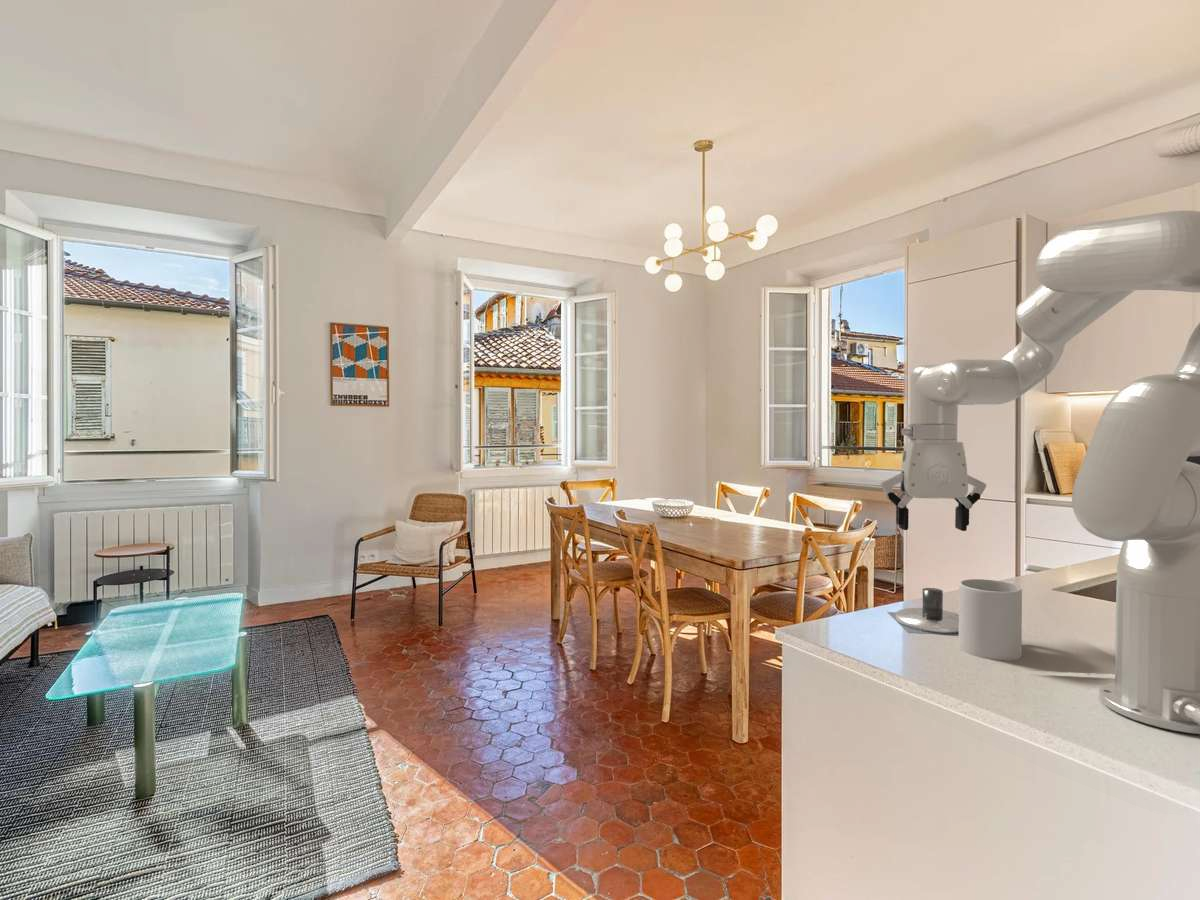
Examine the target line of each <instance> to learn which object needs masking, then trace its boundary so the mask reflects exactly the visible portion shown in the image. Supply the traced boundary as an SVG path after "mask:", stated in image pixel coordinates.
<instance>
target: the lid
mask: <svg viewBox="0 0 1200 900" xmlns="http://www.w3.org/2000/svg"><path fill="white" fill-rule="evenodd" d="M943 599H944V594H943V590H942V589H939V588H935V587H923V588H922V607H907V608H902V609H899V610H897V611H895V612H896V620H895V621H896V623H897V624H898V625H900V624H901V625H903V626H906V627H908V628H911V629H915V630H919V631H924V632H930V633H939V634H938V635H950V634H959V613H955V612H953V611H948V610H943V607H944V605H943V603H944V600H943ZM901 625H900V626H901Z"/></svg>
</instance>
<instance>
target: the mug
mask: <svg viewBox="0 0 1200 900" xmlns="http://www.w3.org/2000/svg"><path fill="white" fill-rule="evenodd" d="M958 614H959V635H958V637H957V638H958V641H957V644H958V648H959V650H961V651H962V652H964V653H966V654H968V655H971V656H974V657H977V658H982V659H986V660H987V659H988V660H993V661H994V660H995V661H1016V660H1020V659H1021V658H1023V657H1022V656H1023V647H1022V646H1023V645H1022V644H1023V643H1022V641H1023V640H1022V639H1023V638H1022V636H1023V635H1022V633H1023V632H1022V630H1023V629H1022V626H1023V625H1022V624H1023V621H1022V619H1023V618H1022V617H1023V616H1022V615H1023V591H1022V588H1021V587H1020V586H1018V585H1016V584H1014V583H1010V582H1006V581H1001V580H993V579H985V578H984V579H983V578H981V579H979V578H975V579H974V578H971V579H968V578H967V579H962V580H961V581H960V582H959V585H958Z"/></svg>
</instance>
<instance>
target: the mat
mask: <svg viewBox="0 0 1200 900" xmlns="http://www.w3.org/2000/svg"><path fill="white" fill-rule="evenodd" d="M896 612H897V611H895V612H894V611H887V614H888V615H889V616H890V617H891V618H892V619H894V621H896ZM899 626H900V627H902V629H904V630H905V631H906V633H908V634H922V635H923V634H927V635H932V634H933V635H940V634H939V633H930V632H924V631H919V630H915V629H911V628H908V627H906V626H903V625H901V624H899ZM949 635H954V636H955V635H956V636H957V635H958V636H959V634H949Z"/></svg>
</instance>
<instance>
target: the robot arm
mask: <svg viewBox="0 0 1200 900" xmlns="http://www.w3.org/2000/svg"><path fill="white" fill-rule="evenodd" d="M1034 268H1035V275H1036V278H1037V280H1038V281H1039V283H1040V285H1039V286H1038V287H1037V288H1036V289H1034V290H1033V291H1032V292H1031V293H1030V294H1029V295H1028V296H1026V297H1025V298H1024V299H1023V300H1022V301H1021V302H1019V304H1018V305H1017V306H1016V309H1015V311H1014V318H1015V321H1016V323H1017V325H1018V327H1019V328H1020V330H1021V332H1022V333H1023V334H1024V337H1023V339H1022V340H1021V341H1020V342H1019V343H1018V344H1017V345H1016V346H1015V347H1013V348H1012V349H1011V350H1010V351H1008V352H1007V353H1006V354H1004V355H1003V356H1002V357H1001V358H999V359H979V358H978V359H976V358H975V359H964V358H963V359H953V360H949V361H945V362H942V363H938V364H926V365H918V366H916V367H914V368H913V369H912V370H911V372H910V377H909V381H910V382H909V383H910V386H909V387H910V388H909V393H910V394H909V424H908V427H904V428H901V431H900V432H901V433H900V434H901V436H906V437H908V440H909V441H906V442H905V444H904V449H903V455H902V459H901V468H900V473H899V474H896V475H894V476H892V477H890V478H888V479H886V480H884V481H882V482H880V487H881V489H882V491H883V492H884V494H885V496H886V499H888V500H889V501H890V502H891V503H893V505H894V506H896V507H895V510H896V511H895V513H896V514H895V517H896V518H895V523H896V525H898V528H899V529H901V530H903V531H907V530H909V518H910V517H909V516H910V515H909V514H910V513H909V512H910V509H909V508H908V507H907V505H908V504H909V503H910V502H911V500H912V499H913V498H915V499H951V500H952V499H953V500H954V501H955V502H956V504H958V505H957V506H956V507H955V508H954V509H955V513H954V515H955V516H954V518H955V520H954V525H955V529H957V530H960V532H961V531H962V532H967V529H968V527H969V526H970V509H972V508H973V505H974V504H976V503H977V502H978V501H979V500H980V499H981V495H982V494H983V493H984V491H985V489H986V488H987V483H985V482H983V481H982V480H979V479H977V478H975V477H973V476H971V475H969V474H968V467H967V466H968V465H967V458H966V452H965V447H964V443H963V442H962V441H958V419H959V418H958V414H959V413H958V411H959V408H958V407H959V406H973V405H990V406H991V405H992V406H995V405H1004V404H1007V403H1009V402H1012V401H1015V400H1016V399H1018V398H1019V397H1021V396H1022V395H1025V394H1026V393H1027V392H1028V391H1030V390H1031V389H1032V388H1034V387H1035V386H1037V385H1038V384H1039V383H1041V382H1042V381H1043V380H1045V379H1046V378H1047V377H1048V376H1049V375H1051V373H1052V372H1053V371H1054V369H1055V368H1056V366H1057V364H1058V363H1059V361H1060V359H1061V358H1062V355H1063V353H1064V349H1065V346H1066V344H1067V343H1069V341H1071V340H1072V339H1073V338H1074V337H1076V336H1077V335H1079V334H1080V332H1082V331H1084V330H1085V329H1086V328H1087V327H1089V326H1090V325H1092V324H1093V323H1094V322H1095V321H1096V320H1098V319H1100V317H1102V316H1103V315H1104V314H1106V313H1107V312H1109V310H1111V309H1112V308H1114V307H1115V306H1117V304H1119V303H1120V302H1121V301H1123V300H1125V299H1126V298H1127V297H1128V296H1129V295H1131V294H1133V293H1134V291H1174V292H1183V293H1184V292H1187V293H1200V211H1199V210H1174V211H1173V210H1170V211H1162V212H1156V213H1150V214H1143V215H1142V214H1141V215H1137V216H1130V217H1123V218H1116V219H1109V220H1102V221H1096V222H1095V221H1093V222H1088V223H1082V224H1081V223H1080V224H1076V225H1074V226H1070V227H1068V228H1065V229H1064V230H1061V231H1060V232H1059V233H1057V234H1055V235H1054V236H1053V237H1051V238H1050V240H1048V241H1047V242H1046V244H1044V246H1043V247H1042V249H1041V250H1040V252H1039V254H1038V255H1037V258H1036V261H1035V267H1034ZM1189 457H1200V322H1198V324H1197V326H1196V327H1195V328H1194V330H1193V331H1192V334H1191V335H1190V337H1189V339H1188V341H1187V344H1186V347H1185V350H1184V352H1183V354H1182V356H1181V358H1180V360H1179V362H1178V364H1177V366H1176V367H1175V370H1174V371H1173V373H1162V374H1159V373H1158V374H1152V375H1148V376H1144V377H1141V378H1138V379H1135V380H1133V381H1131V382H1130V383H1128V384H1126V385H1125V386H1124V387H1122V388H1120V390H1118V391H1117V392H1116V393H1115V394H1114V396H1112V397H1111V399H1110V400H1109V402H1108V403H1107V404H1106V405H1105V407H1104V409H1103V411H1102V414H1101V415H1100V418H1099V420H1098V422H1097V425H1096V428H1095V430H1094V432H1093V434H1092V437H1091V439H1090V443H1089V445H1088V447H1087V450H1086V452H1085V455H1084V457H1083V460H1082V463H1081V465H1080V467H1079V469H1078V473H1077V475H1076V477H1075V481H1074V483H1073V488H1072V492H1071V493H1072V494H1071V504H1072V505H1071V506H1072V510H1073V512H1074V516H1075V518H1076V520H1077V521H1078V523H1079V524H1080V525H1081V527H1083V529H1085V530H1086V531H1087V532H1088V533H1090V534H1092V535H1093V536H1095V537H1097V538H1100V539H1103V540H1106V541H1112V542H1119V543H1120V542H1122V544H1121V547H1120V551H1119V555H1118V560H1117V565H1116V584H1115V585H1116V587H1115V588H1116V597H1115V656H1114V657H1115V659H1114V662H1115V665H1114V666H1115V668H1114V682H1112V683H1111V682H1109V683H1106V684H1104V685H1102V686H1101V687H1099V691H1098V692H1099V699H1100V701H1101V702H1102V703H1103V704H1104V705H1105V706H1106V707H1108V709H1110V710H1112V711H1114V712H1115V713H1118V714H1119V715H1122V716H1123V717H1125V718H1129V719H1132V720H1133V721H1137V722H1140V723H1142V724H1146V725H1150V726H1154V727H1156V728H1161V729H1165V730H1170V731H1174V732H1180V733H1186V734H1194V735H1200V464H1199V463H1195V462H1191V461H1187V459H1188V458H1189ZM898 484H899V485H900V488H899V489H900V492H901V493H900V494H899V495H897V494H896V493H895V492H894V491H893V487H894V486H895V485H898ZM969 485H970V486H972V487H973V488H972V491H971V492H970V493H969Z"/></svg>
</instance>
